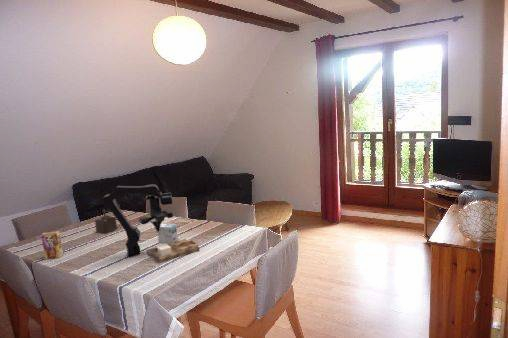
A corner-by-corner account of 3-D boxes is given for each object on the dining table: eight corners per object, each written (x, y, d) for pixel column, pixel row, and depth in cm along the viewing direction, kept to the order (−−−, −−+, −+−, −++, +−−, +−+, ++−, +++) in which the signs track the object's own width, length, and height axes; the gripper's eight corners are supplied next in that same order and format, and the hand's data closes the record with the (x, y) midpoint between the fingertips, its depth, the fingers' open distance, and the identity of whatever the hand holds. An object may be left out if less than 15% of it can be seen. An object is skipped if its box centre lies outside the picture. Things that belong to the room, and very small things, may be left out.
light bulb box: (178, 239, 230) (176, 223, 228) (173, 243, 224) (171, 226, 222) (163, 238, 233) (161, 223, 231) (158, 242, 227) (156, 226, 225)
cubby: (180, 252, 203) (179, 249, 202) (173, 247, 211) (173, 244, 210) (198, 247, 209) (198, 244, 209) (191, 242, 217) (190, 239, 217)
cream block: (161, 256, 198) (160, 250, 198) (157, 253, 203) (157, 247, 203) (171, 253, 202) (171, 247, 201) (167, 250, 207) (167, 244, 206)
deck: (158, 263, 195) (157, 257, 194) (146, 253, 210) (145, 247, 210) (199, 250, 209) (198, 245, 208) (185, 242, 224) (185, 236, 224)
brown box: (106, 234, 250) (103, 209, 247) (95, 232, 255) (92, 208, 252) (123, 227, 263) (120, 203, 260) (113, 225, 269) (110, 202, 266)
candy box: (63, 254, 216) (59, 230, 214) (60, 257, 212) (56, 233, 210) (48, 256, 216) (44, 232, 213) (44, 259, 211) (40, 234, 209)
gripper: (143, 212, 197) (146, 239, 199) (175, 205, 207) (178, 230, 210) (137, 208, 206) (140, 234, 208) (168, 201, 216) (170, 226, 219)
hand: (157, 231), depth 211 cm, fingers closed
